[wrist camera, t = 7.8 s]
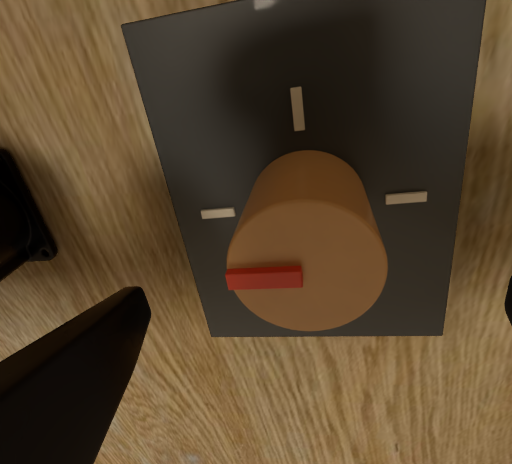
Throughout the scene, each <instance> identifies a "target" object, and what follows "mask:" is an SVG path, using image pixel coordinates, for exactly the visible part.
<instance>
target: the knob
mask: <svg viewBox="0 0 512 464" xmlns="http://www.w3.org/2000/svg"><path fill="white" fill-rule="evenodd" d="M387 271H388V262H387V255H386V251H385V247H384V245H383V242H382V239H381V236H380V233H379V230H378V227H377V224H376V221H375V218H374V215H373V212H372V210H371V207H370V204H369V201H368V198H367V195H366V192H365V189H364V186H363V184H362V181H361V180H360V178H359V176H358V174H357V173H356V172H355V171H354V169H353V168H352V167H351V166H349V165H348V164H347V163H346V162H345V161H343V160H342V159H340V158H338V157H336V156H334V155H332V154H329V153H326V152H321V151H315V150H302V151H296V152H292V153H289V154H286V155H283V156H281V157H279V158H277V159H276V160H274V161H273V162H271V163H270V164H269V165H268V166H267V167H266V168H265V169H264V170H263V171H262V172H261V174H260V175H259V176H258V178H257V180H256V182H255V184H254V186H253V189H252V191H251V193H250V196H249V198H248V201H247V203H246V205H245V208H244V210H243V213H242V215H241V218H240V220H239V222H238V225H237V227H236V230H235V232H234V234H233V237H232V239H231V242H230V245H229V248H228V253H227V271H226V274H225V277H226V281H227V285H228V289H229V290H234V292H235V293H236V295H237V296H238V298H239V299H240V300H241V301H242V303H243V304H244V305H245V306H246V307H247V308H248V309H249V310H250V311H252V312H253V313H254V314H256V315H257V316H259V317H260V318H262V319H264V320H265V321H267V322H270V323H272V324H274V325H277V326H280V327H283V328H287V329H291V330H298V331H321V330H328V329H332V328H336V327H339V326H342V325H345V324H347V323H349V322H351V321H353V320H355V319H357V318H358V317H360V316H361V315H363V314H364V313H365V312H366V311H367V310H368V309H369V308H370V307H371V306H372V305H373V304H374V303H375V302H376V300H377V299H378V297H379V296H380V294H381V292H382V290H383V287H384V285H385V282H386V278H387Z"/></svg>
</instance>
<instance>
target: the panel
mask: <svg viewBox="0 0 512 464" xmlns="http://www.w3.org/2000/svg"><path fill="white" fill-rule="evenodd" d="M485 6H486V0H236V1H231V2H226V3H221V4H217V5H212V6H207V7H202V8H197V9H193V10H188V11H183V12H178V13H174V14H169V15H164V16H159V17H154V18H150V19H145V20H140V21H135V22H130V23H126V24H122V25H121V28H122V31H123V35H124V38H125V42H126V45H127V49H128V52H129V55H130V59H131V62H132V66H133V69H134V73H135V76H136V79H137V83H138V86H139V90H140V93H141V97H142V100H143V104H144V107H145V110H146V114H147V117H148V121H149V124H150V128H151V131H152V134H153V138H154V141H155V145H156V148H157V152H158V155H159V159H160V162H161V165H162V169H163V172H164V176H165V179H166V183H167V186H168V189H169V193H170V196H171V200H172V203H173V207H174V210H175V214H176V217H177V220H178V224H179V227H180V231H181V234H182V238H183V241H184V244H185V248H186V251H187V255H188V258H189V262H190V265H191V269H192V272H193V275H194V279H195V282H196V286H197V289H198V293H199V296H200V299H201V303H202V306H203V310H204V313H205V317H206V320H207V324H208V327H209V330H210V334H211V337H304V336H442V335H443V328H444V321H445V313H446V305H447V298H448V290H449V282H450V275H451V267H452V259H453V252H454V244H455V236H456V229H457V221H458V213H459V205H460V198H461V190H462V182H463V175H464V167H465V159H466V152H467V144H468V136H469V129H470V121H471V113H472V106H473V98H474V90H475V83H476V75H477V67H478V60H479V52H480V44H481V36H482V29H483V21H484V13H485ZM302 150H315V151H321V152H326V153H329V154H332V155H334V156H336V157H338V158H340V159H342V160H343V161H345V162H346V163H347V164H348V165H349V166H351V167H352V168H353V169H354V171H355V172H356V173H357V174H358V176H359V178H360V180H361V181H362V184H363V186H364V189H365V192H366V195H367V198H368V201H369V204H370V207H371V210H372V212H373V215H374V218H375V221H376V224H377V227H378V230H379V233H380V236H381V239H382V242H383V245H384V247H385V251H386V255H387V262H388V271H387V278H386V282H385V285H384V287H383V290H382V292H381V294H380V296H379V297H378V299H377V300H376V302H375V303H374V304H373V305H372V306H371V307H370V308H369V309H368V310H367V311H366V312H365V313H364V314H363V315H361V316H360V317H358V318H357V319H355V320H353V321H351V322H349V323H347V324H345V325H342V326H339V327H336V328H332V329H328V330H321V331H298V330H291V329H287V328H283V327H280V326H277V325H274V324H272V323H270V322H267V321H265V320H264V319H262V318H260V317H259V316H257V315H256V314H254V313H253V312H252V311H250V310H249V309H248V308H247V307H246V306H245V305H244V304H243V303H242V301H241V300H240V299H239V298H238V296H237V295H236V293H235V292H234V290H229V289H228V285H227V281H226V277H225V274H226V271H227V253H228V248H229V245H230V242H231V239H232V237H233V234H234V232H235V230H236V227H237V225H238V222H239V220H240V218H241V215H242V213H243V210H244V208H245V205H246V203H247V201H248V198H249V196H250V193H251V191H252V189H253V186H254V184H255V182H256V180H257V178H258V176H259V175H260V174H261V172H262V171H263V170H264V169H265V168H266V167H267V166H268V165H269V164H270V163H271V162H273V161H274V160H276V159H277V158H279V157H281V156H283V155H286V154H289V153H292V152H296V151H302Z"/></svg>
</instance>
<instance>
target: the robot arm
mask: <svg viewBox="0 0 512 464" xmlns="http://www.w3.org/2000/svg"><path fill="white" fill-rule="evenodd" d="M0 159H1V160H2V161H1V160H0V282H1V281H2V280H3V279H5V278H6V277H7V276H8V275H10V274H11V273H12V272H14V271H15V270H16V269H18V268H19V267H20V266H21V265H23V264H24V263H25V262H29V261H46V260H51V259H53V258H54V257H55V256H56V255H57V253H58V251H57V248H56V246H55V244H54V242H53V240H52V238H51V236H50V234H49V232H48V230H47V228H46V226H45V224H44V222H43V220H42V218H41V216H40V214H39V212H38V210H37V208H36V206H35V204H34V201H33V199H32V197H31V195H30V193H29V191H28V189H27V187H26V185H25V183H24V181H23V179H22V177H21V175H20V173H19V171H18V169H17V167H16V165H15V163H14V161H13V159H12V157H11V155H10V154H9V153H8V152H7V151H6V150H4V149H0ZM46 250H47V251H48V252H47V251H46ZM505 311H506V314H507V316H508V318H509V321H510V323H511V325H512V276H511V278H510V281H509V285H508V290H507V294H506V298H505ZM150 318H151V310H150V307H149V304H148V301H147V299H146V296H145V293H144V291H143V289H142V288H141V287H139V286H134V287H125V288H123V289H121V290H120V291H118V292H116V293H115V294H113V295H111V296H110V297H108V298H106V299H105V300H103V301H101V302H100V303H98V304H96V305H95V306H93V307H91V308H90V309H88V310H86V311H85V312H83V313H81V314H80V315H78V316H76V317H74V318H73V319H71V320H69V321H68V322H66V323H64V324H63V325H61V326H59V327H58V328H56V329H54V330H53V331H51V332H49V333H48V334H46V335H44V336H43V337H41V338H39V339H38V340H36V341H34V342H33V343H31V344H29V345H28V346H26V347H24V348H23V349H21V350H19V351H18V352H16V353H14V354H13V355H11V356H9V357H7V358H6V359H4V360H2V361H1V362H0V464H94V462H95V459H96V457H97V455H98V452H99V450H100V448H101V445H102V443H103V441H104V438H105V436H106V434H107V431H108V429H109V427H110V425H111V422H112V420H113V418H114V415H115V413H116V411H117V408H118V406H119V404H120V401H121V399H122V397H123V394H124V392H125V390H126V387H127V385H128V383H129V380H130V378H131V376H132V373H133V371H134V368H135V365H136V363H137V360H138V356H139V353H140V350H141V347H142V344H143V341H144V337H145V334H146V331H147V328H148V325H149V322H150Z"/></svg>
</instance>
